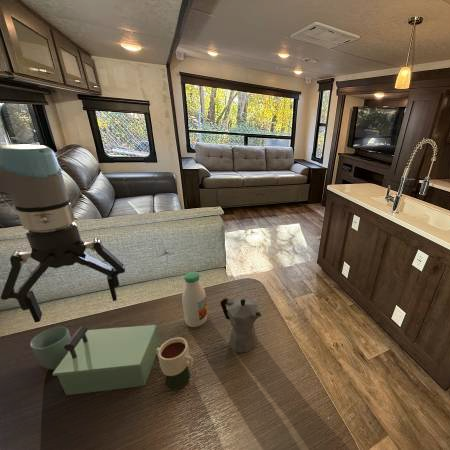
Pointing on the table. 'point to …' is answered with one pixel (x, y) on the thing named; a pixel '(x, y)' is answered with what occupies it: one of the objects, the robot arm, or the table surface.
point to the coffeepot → (241, 322)
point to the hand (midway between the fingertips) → (79, 307)
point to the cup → (50, 346)
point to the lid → (105, 349)
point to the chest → (112, 375)
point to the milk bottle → (194, 301)
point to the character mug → (175, 362)
